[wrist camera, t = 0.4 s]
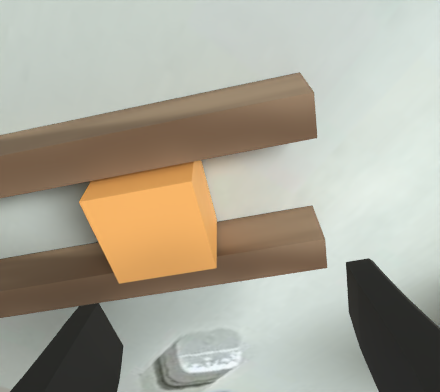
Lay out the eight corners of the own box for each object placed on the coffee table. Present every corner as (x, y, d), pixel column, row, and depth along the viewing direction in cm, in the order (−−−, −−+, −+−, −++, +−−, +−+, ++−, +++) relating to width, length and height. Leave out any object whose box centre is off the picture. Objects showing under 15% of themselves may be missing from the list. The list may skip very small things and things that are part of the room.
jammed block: (216, 219, 22) (216, 268, 18) (134, 233, 22) (119, 283, 19) (196, 141, 19) (191, 181, 16) (102, 159, 20) (79, 202, 16)
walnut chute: (314, 232, 22) (327, 267, 20) (-21, 287, 25) (-48, 325, 22) (299, 72, 17) (313, 91, 15) (-119, 160, 20) (-169, 190, 17)
